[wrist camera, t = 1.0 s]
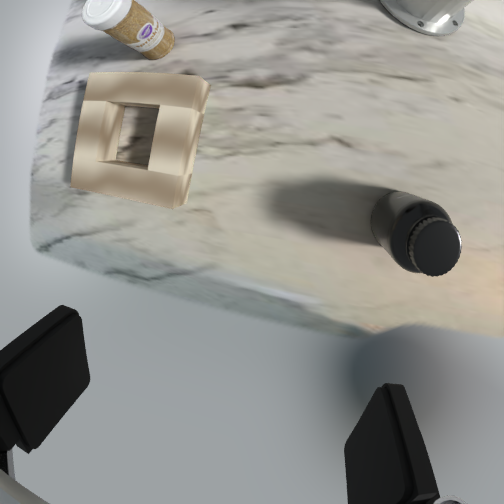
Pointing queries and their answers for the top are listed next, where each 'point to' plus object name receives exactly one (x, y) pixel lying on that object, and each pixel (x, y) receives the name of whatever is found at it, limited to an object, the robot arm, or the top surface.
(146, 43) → the sprinkles bottle
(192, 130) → the socket block
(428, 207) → the supplement bottle
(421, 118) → the top surface
